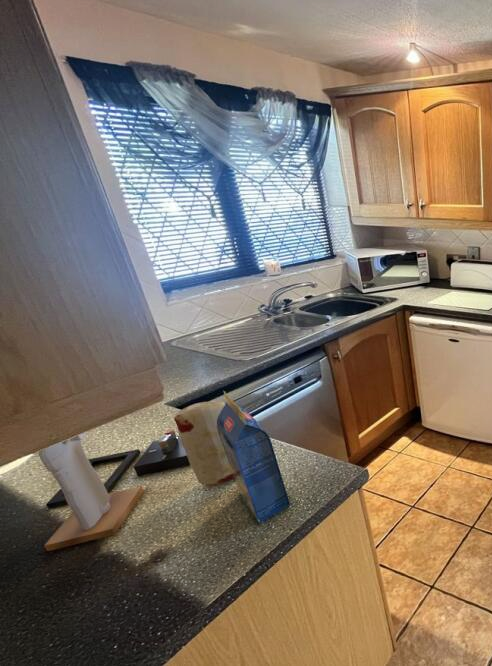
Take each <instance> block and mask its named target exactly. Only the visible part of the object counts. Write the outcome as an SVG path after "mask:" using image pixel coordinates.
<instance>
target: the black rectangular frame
mask: <svg viewBox="0 0 492 666" xmlns="http://www.w3.org/2000/svg"><path fill="white" fill-rule="evenodd" d="M141 453H142V451H140V449H139V448H138V449H132V450H128V451H122V452H117V453H113V454H108V455H102V456H97V457H93V458H92V457H91V458H88V460H89V462H90V463H91V465H92V467H93V468H94V467H95V466H99V465H103V464H110V463H114V462H120V461H121V462H120V464H119V465H118V467H116V469H115V470H114V471H113V472H112V474H111V475H109V477H108V479H107V480H106V481H105V482H104V483H103V485H104V487H105V488H106V490H107V492H108V493H112V490H113V489H114V488H115V486H116V485H117V484H118V483H119V482H120V480H121V479H122V478H123V477H124V475H125V474H126V472H127V471H128V470H129V469H130V467H131V466H132V465H133V463H134V462H135V461H136V460H137V458H138V457H139V456H140V454H141ZM66 505H68V503H67V501H66V498H65V495H64V493H63V491H62V489H61V488H60V489H59V490H58V491H57V492H56V493H55V494H54V495H53V496H52V497H51V498H50V499H49V500H48V501H47V502H46V503H45V506H46V507H47V509H53V508H56V507H61V506H66Z"/></svg>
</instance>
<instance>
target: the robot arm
mask: <svg viewBox="0 0 492 666" xmlns="http://www.w3.org/2000/svg"><path fill="white" fill-rule="evenodd" d="M86 437H87V432H85V433H83V434H81V435H78V436H76V437H74V438H71V439H70V441H71V442H73V441H78V440H81V441H82V440H84V439H85V438H86Z"/></svg>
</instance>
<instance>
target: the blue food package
mask: <svg viewBox="0 0 492 666" xmlns="http://www.w3.org/2000/svg"><path fill="white" fill-rule="evenodd" d="M223 394H224V398H225V400H226V402H225V406H224V407H223V409H222V411H221V412H220V414H219V416H218V419H217V429H218V433H219V436H220V439H221V441H222V444H223V447H224V450H225V453H226V455H227V458H228V461H229V464H230V467H231V469H232V472H233V475H234V480H235V483H236V487H237V489H238V491H239V494H240V495H241V497H242V500H243V501H244V503H245V504H246V506H247V507H248V509H249V511H250V512H251V514H252V515H253V517H254V518H255V519H256V520H257V522H258V523H261V522H263V521H265V520H266V519H268V518H270V517H272V516H274V515H275V514H277V513H279V512H281V511H282V510H284V509H286V508H287V507H289V506H290V505H291V503H290V500H289V496H288V494H287V490H286V486H285V482H284V480H283V476H282V473H281V469H280V466H279V463H278V460H277V456H276V453H275V449H274V446H273V443H272V440H271V438H270V436H269V434H268V433H267V432H266V431H265V430H264V429H263V428H262V426H261V425H260V423H259V422H258V421H257V420H256V419H255V418H254V417H253V416H252V415H251V414H250V413H249V412H248V411H247V410H246V409H245V408H244V407H243V406H240V405H237V404H236V403H235V401H233V399H231V397H230V396H229V395H228V394H227V393H226V391H224V390H223Z"/></svg>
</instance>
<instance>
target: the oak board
mask: <svg viewBox="0 0 492 666" xmlns="http://www.w3.org/2000/svg"><path fill="white" fill-rule="evenodd" d="M144 492H145V490H144V488H143V486H142V485H140V486H135V487H131V488H127V489H122V490H117V491H113V492H112V491H111V492H110V493H108V494H109V496H110V501H109V504H110V506H111V507H110V509H109V510H108V511H107V512H106V513H105V514H103V515H102V516H101V518H100V519H99V520H98V522H97V523H96V524H95V525H94V526H93V527H92V528H90V529H88V530H83V529H82V528H81V526H80V524H79V522H78V521H77V519H76V517H75V516H74V514H73V512H72V511H71V513H70V514H69V516H68V517H67V518H65V520H64V521H63V523H62V524H61V525H60V526H59V527H58V528H57V530H55V532H54V533H53V534H52V536H51V537H50V538H49V539H48V540H47V542H46V543H45V544H44V545H43V547H44V548H45V549H46V551H47V552H51V551H55V550H59V549H63V548H66V547H71V546H75V545H78V544H83V543H87V542H89V541H90V542H91V541H95V540H97V539H102V538H106V537H109V536H115V535H116V534H117V532H118V531H119V529H120V528H121V526H122V525H123V524H124V522H125V521H126V519H127V517H128V516H129V514H130V513H131V511H132V510H133V508H134V507H135V506H136V504H137V502H138V501H139V499H140V498H141V496H142V495H143V493H144Z"/></svg>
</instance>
